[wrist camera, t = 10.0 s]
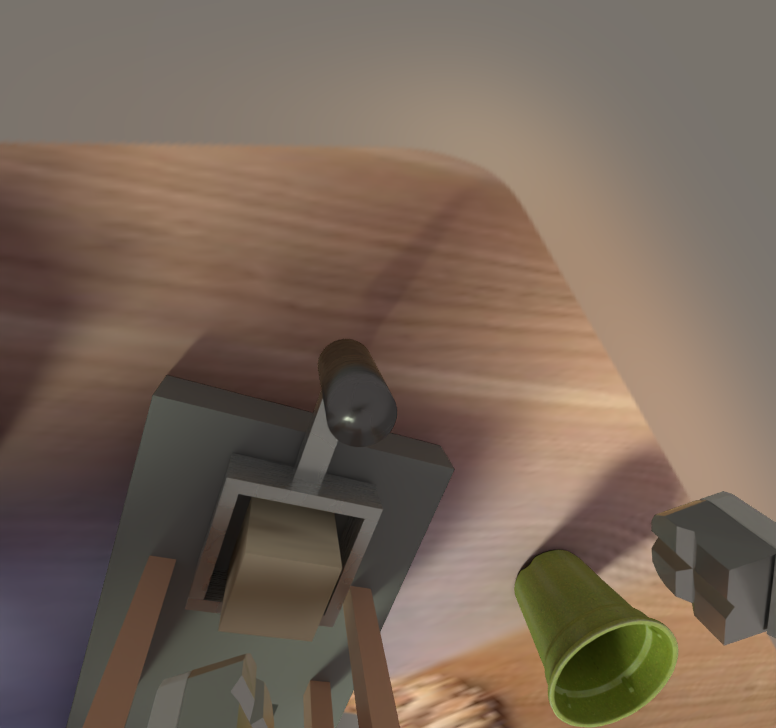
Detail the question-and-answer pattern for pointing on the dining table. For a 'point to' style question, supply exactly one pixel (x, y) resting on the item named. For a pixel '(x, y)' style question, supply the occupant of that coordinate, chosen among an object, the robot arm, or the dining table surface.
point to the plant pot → (592, 642)
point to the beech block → (281, 571)
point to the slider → (312, 473)
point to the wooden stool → (368, 682)
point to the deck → (190, 525)
